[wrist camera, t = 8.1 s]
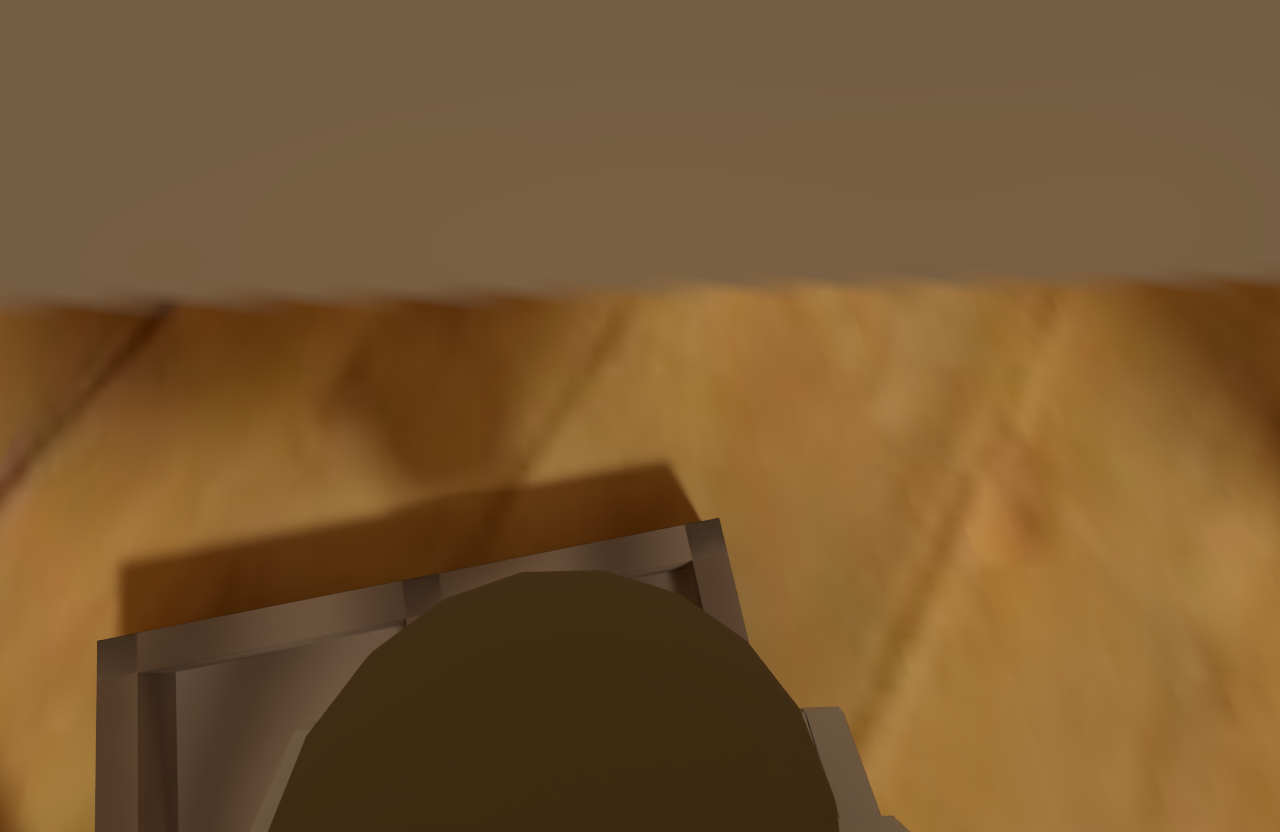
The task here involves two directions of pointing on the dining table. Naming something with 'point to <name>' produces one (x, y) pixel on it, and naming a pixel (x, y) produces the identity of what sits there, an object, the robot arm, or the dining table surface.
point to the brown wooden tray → (307, 676)
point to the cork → (560, 722)
